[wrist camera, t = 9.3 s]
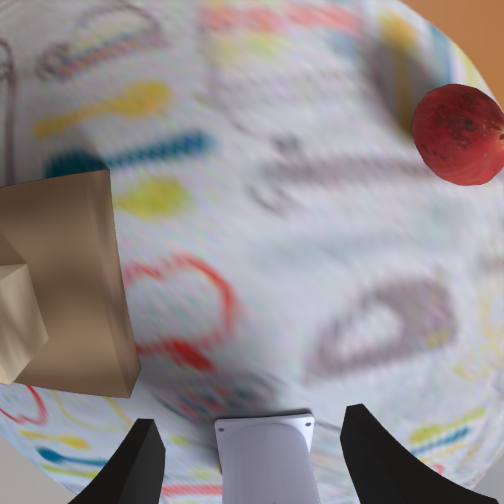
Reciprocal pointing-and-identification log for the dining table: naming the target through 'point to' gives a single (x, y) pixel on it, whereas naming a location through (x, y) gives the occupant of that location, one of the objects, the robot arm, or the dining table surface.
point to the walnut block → (72, 282)
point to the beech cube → (18, 322)
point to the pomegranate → (460, 134)
